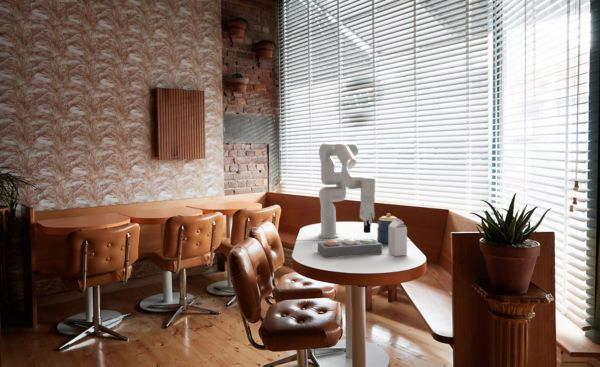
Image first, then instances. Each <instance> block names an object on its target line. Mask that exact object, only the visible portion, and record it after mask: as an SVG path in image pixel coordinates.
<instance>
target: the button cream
mask: <svg viewBox="0 0 600 367" xmlns="http://www.w3.org/2000/svg"><path fill="white" fill-rule="evenodd" d="M355 240H356V239H355V238H344V239H343V241H344V245H355Z"/></svg>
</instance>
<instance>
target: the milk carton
mask: <svg viewBox="0 0 600 367" xmlns="http://www.w3.org/2000/svg"><path fill="white" fill-rule="evenodd" d="M407 239H408V227H407V226H406V225H405V224H404V221H402V219H399V218H397V217H396V218H394V221H393V222H392V223H391V224H390V225H389V230H388V245H387V246H388V251H387V252H388V254H390V255H391V256H393V257H400V256H407V252H408V251H407V249H408V240H407Z"/></svg>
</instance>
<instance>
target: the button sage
mask: <svg viewBox="0 0 600 367" xmlns="http://www.w3.org/2000/svg"><path fill="white" fill-rule="evenodd" d="M371 239H372V238H367V239H365V238H364V239H361V240H362V243H363V244H372V243H373V240H374V239H373V240H371Z"/></svg>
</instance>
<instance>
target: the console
mask: <svg viewBox="0 0 600 367" xmlns="http://www.w3.org/2000/svg"><path fill="white" fill-rule="evenodd" d="M370 239H371V240H373V243H372V244H363V243H362V240H363V239H355V245H344V240H339V241H338V240H336V241H337V246H330V247H326V246H325V242H323V241H322V242H317V252H318V254H320V255H321V256H322V257H323V258H324V259H325V258H327V259H328V258H337V257H338V258H339V257H340V256H341V257H352V256H364V255H365V254H367V255H376V254H378V255H379V254H380V255H381V254H383V244H381V243H379V242H378V241H377V240H375V239H373V238H370ZM365 256H366V255H365Z"/></svg>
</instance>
